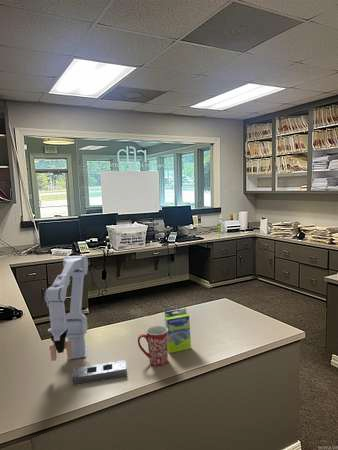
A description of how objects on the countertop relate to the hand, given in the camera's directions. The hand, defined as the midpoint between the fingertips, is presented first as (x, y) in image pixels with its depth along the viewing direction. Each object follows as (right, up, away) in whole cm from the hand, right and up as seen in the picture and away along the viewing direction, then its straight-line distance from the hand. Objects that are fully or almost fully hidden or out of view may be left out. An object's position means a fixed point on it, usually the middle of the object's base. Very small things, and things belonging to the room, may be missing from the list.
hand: (61, 350), depth 130 cm
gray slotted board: (+16, -9, -2) cm, 18 cm away
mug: (+36, -7, +6) cm, 38 cm away
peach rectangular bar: (0, -3, 0) cm, 3 cm away
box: (+47, -6, +16) cm, 50 cm away
